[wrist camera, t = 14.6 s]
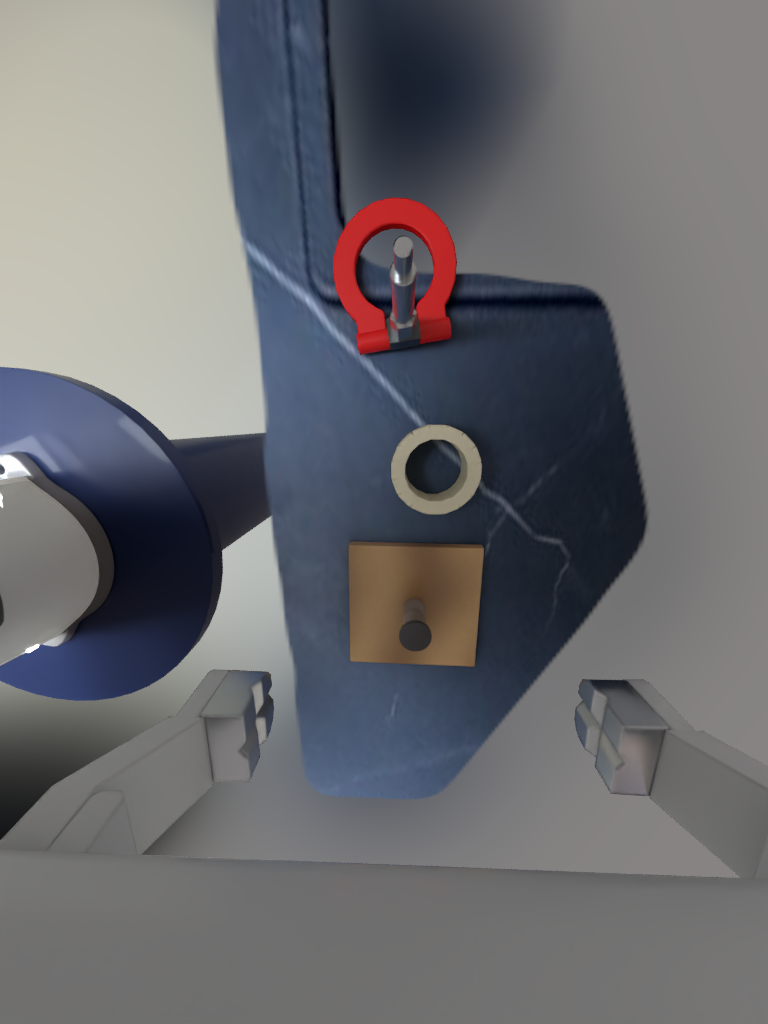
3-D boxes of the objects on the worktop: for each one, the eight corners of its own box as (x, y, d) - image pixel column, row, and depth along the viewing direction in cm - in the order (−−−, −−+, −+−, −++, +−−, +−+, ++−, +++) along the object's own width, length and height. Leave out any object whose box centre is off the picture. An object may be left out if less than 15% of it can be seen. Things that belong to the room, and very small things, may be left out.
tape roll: (392, 504, 30) (390, 513, 27) (392, 424, 28) (391, 424, 25) (471, 506, 29) (478, 515, 26) (476, 424, 28) (484, 425, 25)
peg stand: (351, 654, 33) (342, 697, 28) (350, 540, 30) (339, 565, 25) (472, 659, 33) (485, 704, 27) (481, 544, 30) (497, 569, 25)
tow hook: (326, 221, 25) (349, 360, 27) (248, 2, 13) (300, 289, 14) (446, 196, 25) (462, 340, 26) (492, -64, 12) (516, 247, 14)
